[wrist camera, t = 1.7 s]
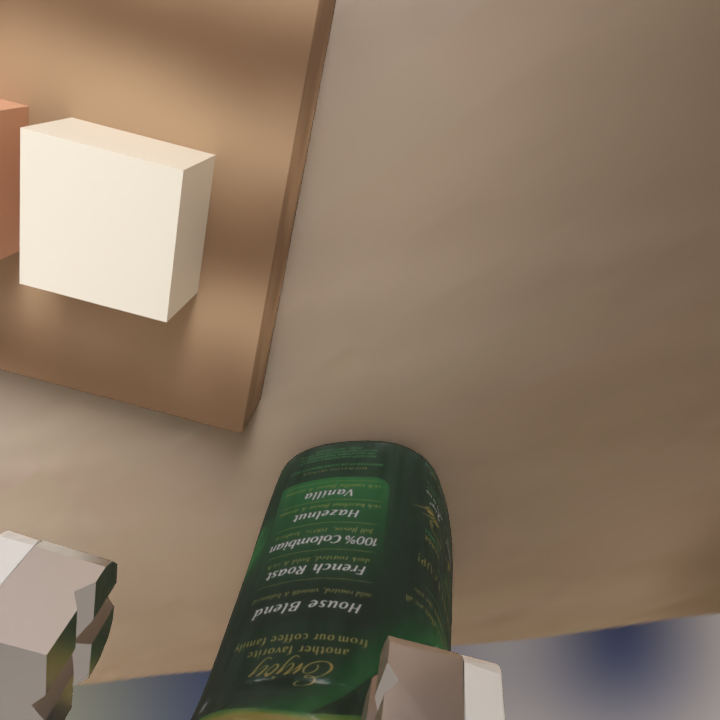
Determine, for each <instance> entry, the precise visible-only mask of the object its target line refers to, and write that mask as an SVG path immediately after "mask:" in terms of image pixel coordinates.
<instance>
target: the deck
mask: <svg viewBox="0 0 720 720" xmlns="http://www.w3.org/2000/svg"><path fill="white" fill-rule="evenodd" d="M335 2H336V0H0V99H3V100H7V101H11V102H14V103H18V104H22V105H26V106H29V118H28V126H31V125H36V124H41V123H46V122H51V121H56V120H61V119H66V118H71V117H72V118H76V119H80V120H83V121H87V122H91V123H95V124H99V125H103V126H106V127H110V128H114V129H118V130H122V131H126V132H129V133H133V134H137V135H141V136H145V137H149V138H152V139H156V140H160V141H164V142H168V143H172V144H175V145H179V146H183V147H187V148H191V149H195V150H198V151H202V152H206V153H210V154H214V155H216V156H215V164H214V172H213V179H212V187H211V194H210V202H209V210H208V217H207V225H206V233H205V240H204V248H203V256H202V263H201V271H200V279H199V286H198V292H197V293H196V294H195V295H194V296H193V297H192V298H191V299H190V300H189V301H188V302H187V303H186V304H185V305H184V306H183V307H182V308H181V309H180V310H179V311H178V312H177V313H176V314H175V315H174V316H173V317H172V318H171V319H170V320H169V321H168V322H163V321H159V320H155V319H152V318H148V317H144V316H140V315H136V314H133V313H129V312H125V311H121V310H118V309H114V308H110V307H106V306H102V305H99V304H95V303H91V302H87V301H84V300H80V299H76V298H72V297H69V296H65V295H61V294H57V293H53V292H50V291H46V290H42V289H38V288H35V287H31V286H27V285H23V284H19V280H20V251H18V252H16V253H14V254H12V255H10V256H8V257H5V258H3V259H1V260H0V369H2V370H6V371H9V372H13V373H17V374H21V375H24V376H28V377H32V378H36V379H39V380H43V381H47V382H51V383H54V384H58V385H62V386H65V387H69V388H73V389H77V390H80V391H84V392H88V393H92V394H95V395H99V396H103V397H107V398H110V399H114V400H118V401H122V402H125V403H129V404H133V405H137V406H140V407H144V408H148V409H152V410H155V411H159V412H163V413H167V414H170V415H174V416H178V417H182V418H185V419H189V420H193V421H197V422H200V423H204V424H208V425H212V426H215V427H219V428H223V429H227V430H230V431H234V432H238V433H242V432H243V430H244V428H245V426H246V424H247V422H248V421H249V419H250V417H251V415H252V413H253V411H254V410H255V408H256V406H257V404H258V402H259V400H260V398H261V394H262V388H263V383H264V378H265V373H266V367H267V362H268V357H269V351H270V346H271V341H272V335H273V330H274V325H275V320H276V314H277V309H278V304H279V298H280V293H281V288H282V283H283V277H284V272H285V267H286V261H287V256H288V251H289V245H290V240H291V235H292V230H293V224H294V219H295V214H296V208H297V203H298V198H299V193H300V187H301V182H302V177H303V171H304V166H305V161H306V156H307V150H308V145H309V140H310V134H311V129H312V124H313V118H314V113H315V108H316V103H317V97H318V92H319V87H320V81H321V76H322V71H323V66H324V60H325V55H326V50H327V44H328V39H329V34H330V28H331V23H332V18H333V13H334V7H335Z"/></svg>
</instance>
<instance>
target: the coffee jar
mask: <svg viewBox="0 0 720 720" xmlns="http://www.w3.org/2000/svg"><path fill="white" fill-rule="evenodd" d="M452 569H453V559H452V538H451V529H450V522H449V515H448V510H447V505H446V501H445V498H444V494H443V491H442V488H441V485H440V482H439V479H438V477H437V475H436V473H435V471H434V469H433V468H432V466H431V465H430V464H429V462H428V461H427V460H426V459H425V458H424V457H422V456H421V455H420V454H418V453H416V452H415V451H413V450H411V449H409V448H407V447H405V446H402V445H398V444H395V443H389V442H382V441H347V442H338V443H332V444H326V445H322V446H318V447H314V448H311V449H308V450H306V451H304V452H302V453H300V454H298V455H296V456H295V457H294V458H293V459H291V460H290V461H289V462H288V463H287V465H286V466H285V467H284V469H283V470H282V472H281V475H280V477H279V479H278V482H277V484H276V487H275V490H274V492H273V495H272V498H271V500H270V503H269V506H268V509H267V512H266V515H265V518H264V521H263V524H262V527H261V530H260V533H259V536H258V539H257V542H256V546H255V549H254V552H253V555H252V558H251V561H250V564H249V567H248V570H247V573H246V576H245V578H244V581H243V584H242V587H241V590H240V593H239V596H238V599H237V601H236V604H235V607H234V609H233V612H232V615H231V618H230V621H229V624H228V626H227V629H226V632H225V635H224V638H223V641H222V643H221V646H220V649H219V652H218V654H217V657H216V660H215V663H214V665H213V668H212V671H211V674H210V677H209V679H208V682H207V684H206V687H205V689H204V692H203V694H202V696H201V699H200V702H199V703H198V706H197V708H196V710H195V712H194V714H193V716H192V718H191V720H361V715H362V711H363V707H364V703H365V699H366V696H367V692H368V689H369V686H370V683H371V680H372V677H374V676H375V675H377V674H378V668H379V660H380V654H381V651H382V648H383V646H384V643H385V641H386V639H387V637H388V635H389V636H393V637H397V638H401V639H404V640H408V641H412V642H416V643H420V644H424V645H427V646H431V647H435V648H439V649H443V650H447V651H451V624H452V579H453V577H452Z"/></svg>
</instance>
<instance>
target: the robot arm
mask: <svg viewBox="0 0 720 720" xmlns="http://www.w3.org/2000/svg"><path fill="white" fill-rule="evenodd" d="M116 578H117V564H116V563H115V562H113V561H110V560H107V559H104V558H100V557H97V556H94V555H90V554H87V553H84V552H81V551H77V550H74V549H71V548H67V547H64V546H61V545H57V544H54V543H51V542H47V541H44V540H43V541H42V540H39V539H35V538H32V537H28V536H25V535H22V534H18V533H15V532H12V531H8V530H7V531H5V532H4V533H2V534H0V720H65V718H66V716H67V714H68V713H69V711H70V709H71V704H72V692H73V687H74V686H75V685H77V684H79V683H81V682H82V681H84V680H86V679H87V678H89V676H90V675H91V673H92V671H93V669H94V667H95V666H96V664H97V662H98V660H99V658H100V656H101V653H102V651H103V648H104V646H105V644H106V641H107V639H108V636H109V632H110V628H111V624H112V620H113V611H114V606H113V604H112V603H111V601H110V600H109V598H108V595H109V594H110V592H111V590H112V589H113V587H114V585H115V584H116ZM361 720H505V707H504V695H503V683H502V671H501V669H500V668H499V665H498V664H495V663H491V662H487V661H484V660H480V659H476V658H472V657H469V656H464V655H459V654H458V653H454V652H451V651H447V650H443V649H439V648H435V647H431V646H427V645H424V644H420V643H416V642H412V641H408V640H404V639H401V638H397V637H393V636H389V635H388V637H387V639H386V641H385V643H384V646H383V648H382V651H381V654H380V660H379V668H378V674H377V675H375V676H374V677H372V680H371V683H370V686H369V689H368V692H367V696H366V699H365V703H364V707H363V711H362V715H361Z"/></svg>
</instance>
